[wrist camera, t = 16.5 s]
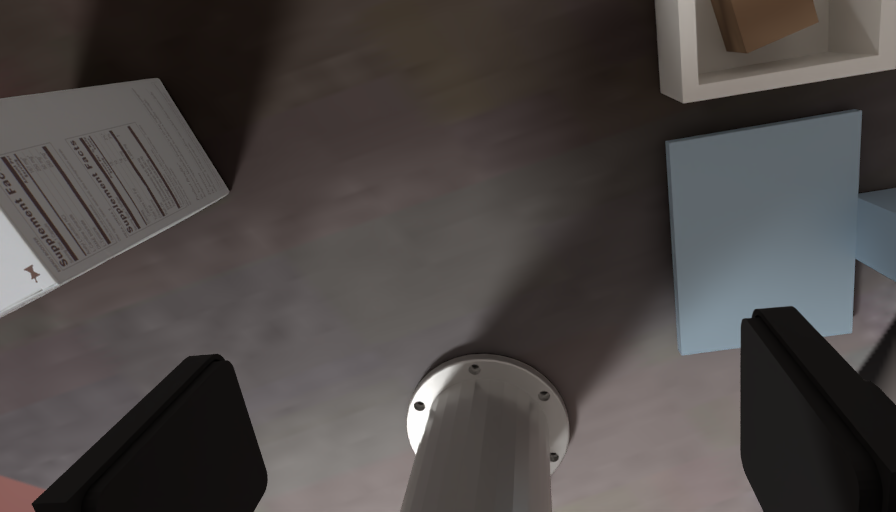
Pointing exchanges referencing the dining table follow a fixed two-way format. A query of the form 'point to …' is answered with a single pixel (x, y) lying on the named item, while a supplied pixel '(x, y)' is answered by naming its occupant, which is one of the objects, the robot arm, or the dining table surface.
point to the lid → (772, 226)
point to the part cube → (760, 21)
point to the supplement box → (91, 181)
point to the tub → (770, 49)
